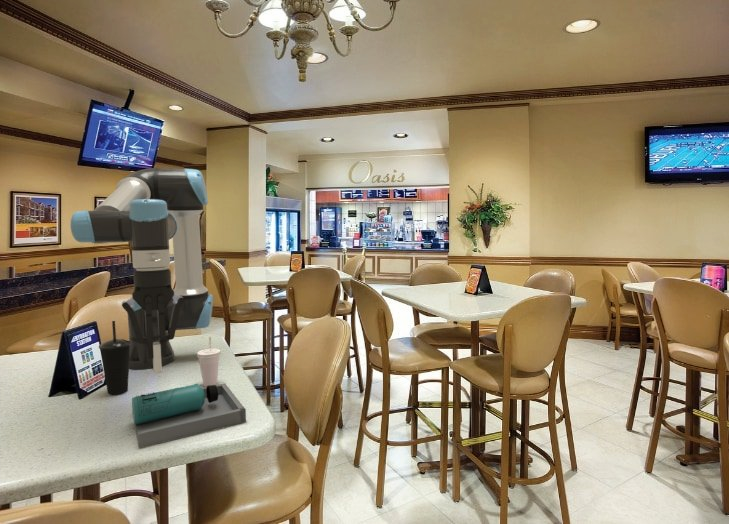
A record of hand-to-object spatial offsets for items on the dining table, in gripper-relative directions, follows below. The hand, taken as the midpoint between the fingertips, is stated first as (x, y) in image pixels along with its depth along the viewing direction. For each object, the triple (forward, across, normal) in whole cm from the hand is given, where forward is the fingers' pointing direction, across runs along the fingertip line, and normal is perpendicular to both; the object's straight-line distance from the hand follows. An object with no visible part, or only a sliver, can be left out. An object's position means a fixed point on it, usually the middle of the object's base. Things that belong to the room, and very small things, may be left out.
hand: (157, 371), depth 98 cm
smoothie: (+13, +15, +20) cm, 28 cm away
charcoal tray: (+12, +6, 0) cm, 14 cm away
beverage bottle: (+9, -7, +1) cm, 11 cm away
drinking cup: (+13, -8, +28) cm, 32 cm away
